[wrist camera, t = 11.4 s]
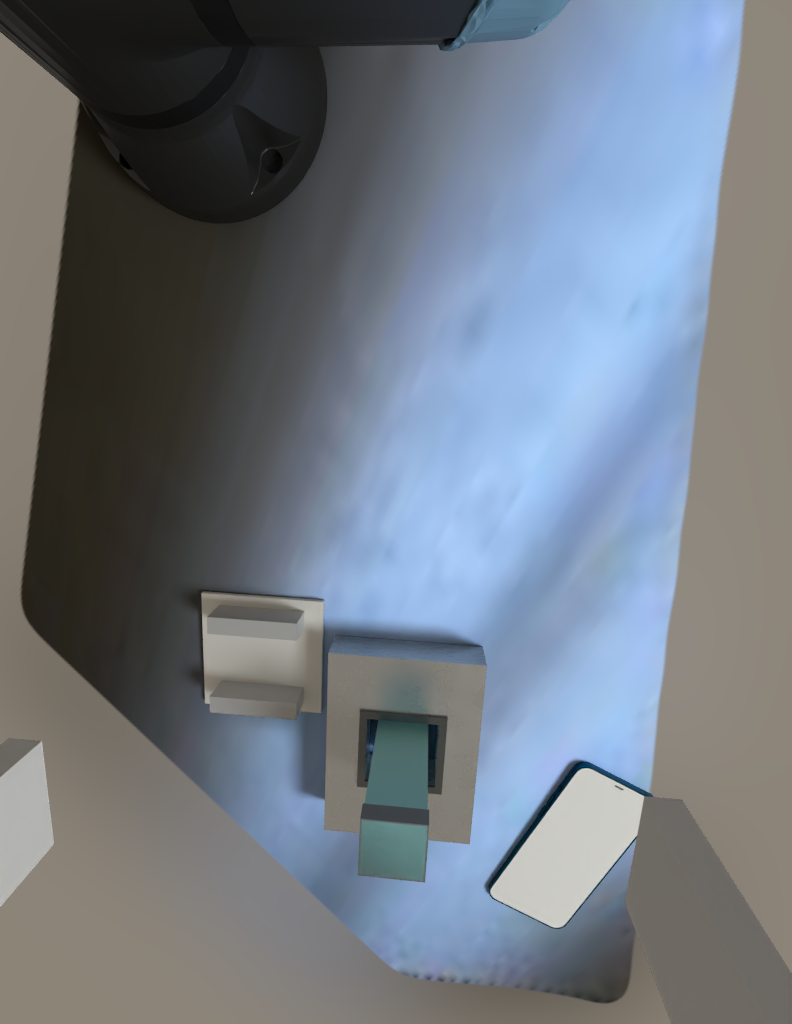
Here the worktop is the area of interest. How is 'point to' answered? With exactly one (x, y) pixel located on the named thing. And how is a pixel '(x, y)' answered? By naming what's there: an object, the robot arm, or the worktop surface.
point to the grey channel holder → (262, 654)
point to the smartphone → (570, 846)
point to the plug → (396, 804)
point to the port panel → (404, 698)
